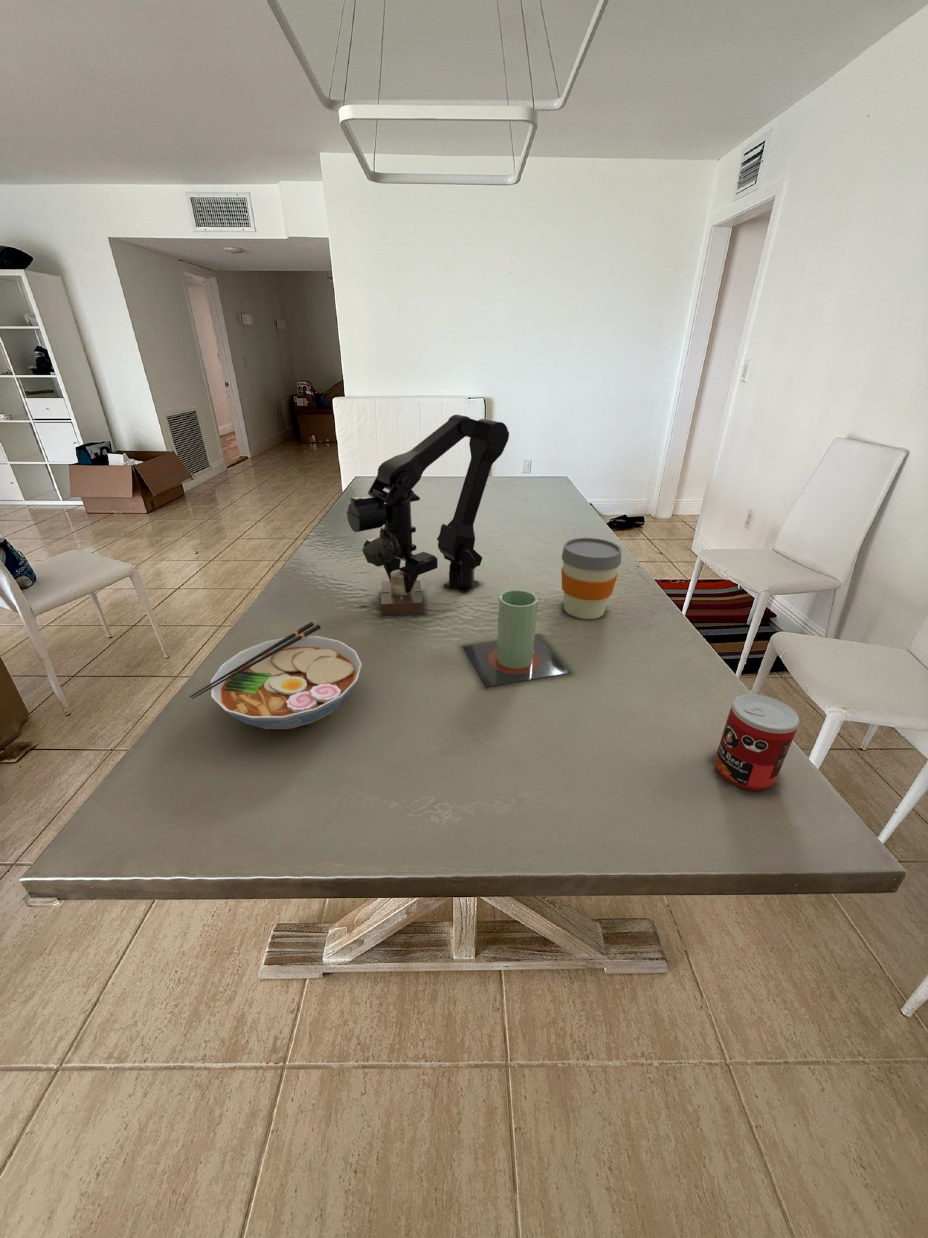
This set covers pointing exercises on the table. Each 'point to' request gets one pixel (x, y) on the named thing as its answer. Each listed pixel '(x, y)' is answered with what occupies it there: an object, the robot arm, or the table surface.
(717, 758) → the canned food
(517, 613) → the tumbler
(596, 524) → the table surface
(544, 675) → the hob
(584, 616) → the reusable coffee cup
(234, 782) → the table surface
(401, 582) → the cream jar candle
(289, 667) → the ramen bowl
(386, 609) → the brown flat block
